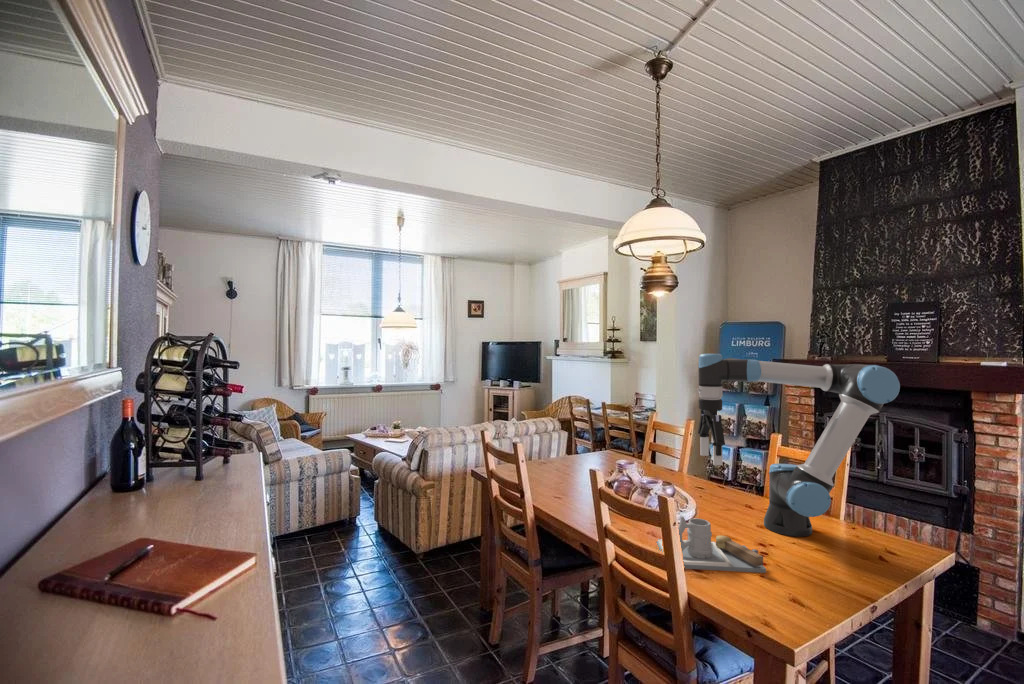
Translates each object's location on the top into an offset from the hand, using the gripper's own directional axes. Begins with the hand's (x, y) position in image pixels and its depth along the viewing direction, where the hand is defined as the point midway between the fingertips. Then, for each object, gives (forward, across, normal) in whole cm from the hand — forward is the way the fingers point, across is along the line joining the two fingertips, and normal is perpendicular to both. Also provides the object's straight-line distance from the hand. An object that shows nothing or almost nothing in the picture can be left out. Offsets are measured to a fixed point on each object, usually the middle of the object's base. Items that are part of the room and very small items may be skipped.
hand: (710, 460), depth 166 cm
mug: (+25, +18, -11) cm, 33 cm away
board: (+26, +17, -7) cm, 32 cm away
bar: (+24, +19, +2) cm, 30 cm away
